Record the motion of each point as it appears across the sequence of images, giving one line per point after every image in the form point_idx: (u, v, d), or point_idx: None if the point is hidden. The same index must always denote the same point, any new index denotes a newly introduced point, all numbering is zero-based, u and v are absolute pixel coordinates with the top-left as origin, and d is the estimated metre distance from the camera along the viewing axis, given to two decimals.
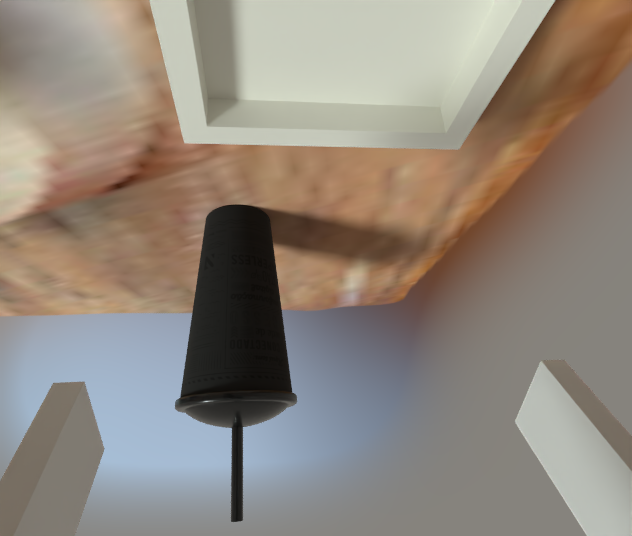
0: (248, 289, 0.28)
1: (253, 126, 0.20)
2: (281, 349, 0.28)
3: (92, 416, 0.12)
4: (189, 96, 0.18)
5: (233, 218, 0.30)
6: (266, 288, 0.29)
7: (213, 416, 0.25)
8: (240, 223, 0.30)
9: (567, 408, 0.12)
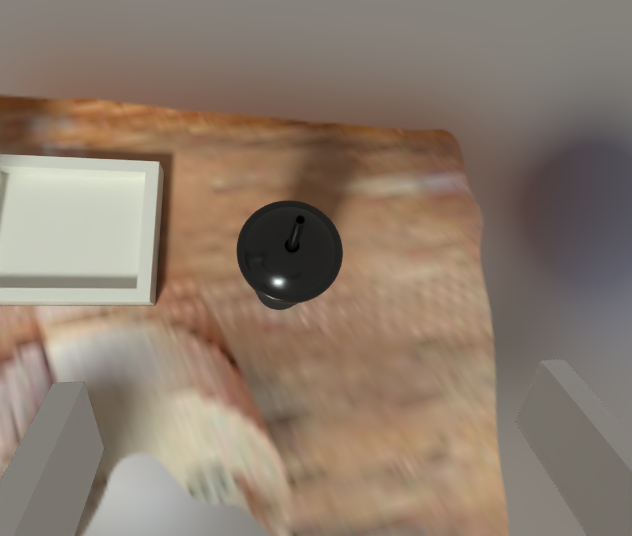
0: None
1: (139, 266, 0.40)
2: None
3: (92, 416, 0.12)
4: (115, 294, 0.39)
5: None
6: None
7: (261, 264, 0.30)
8: None
9: (567, 408, 0.12)
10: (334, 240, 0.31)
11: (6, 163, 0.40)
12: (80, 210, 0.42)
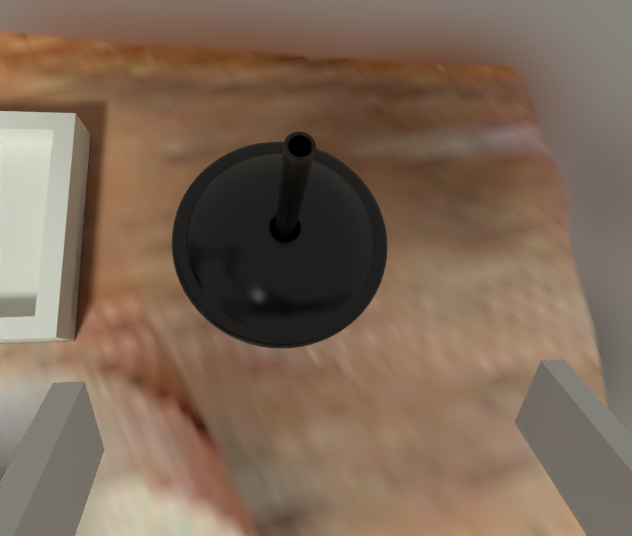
0: None
1: None
2: None
3: (92, 416, 0.12)
4: None
5: None
6: None
7: (221, 270, 0.14)
8: None
9: (567, 408, 0.12)
10: (369, 217, 0.16)
11: None
12: None
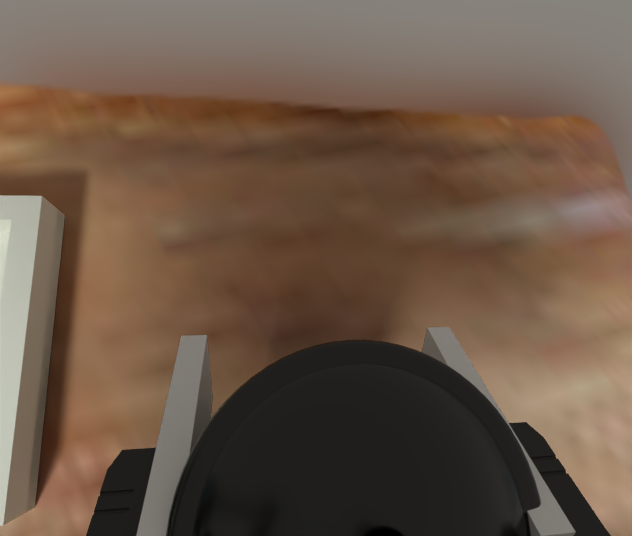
0: None
1: None
2: None
3: (208, 367, 0.14)
4: None
5: None
6: None
7: None
8: None
9: None
10: (516, 484, 0.09)
11: None
12: None
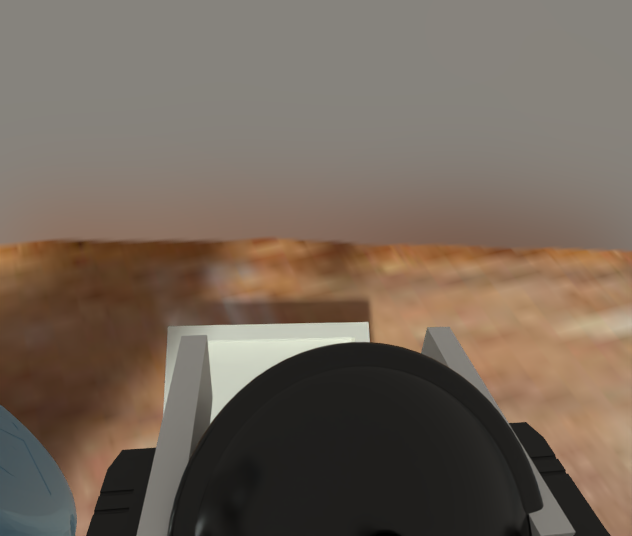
0: None
1: None
2: None
3: (208, 367, 0.14)
4: None
5: None
6: None
7: None
8: None
9: None
10: (518, 488, 0.09)
11: None
12: None
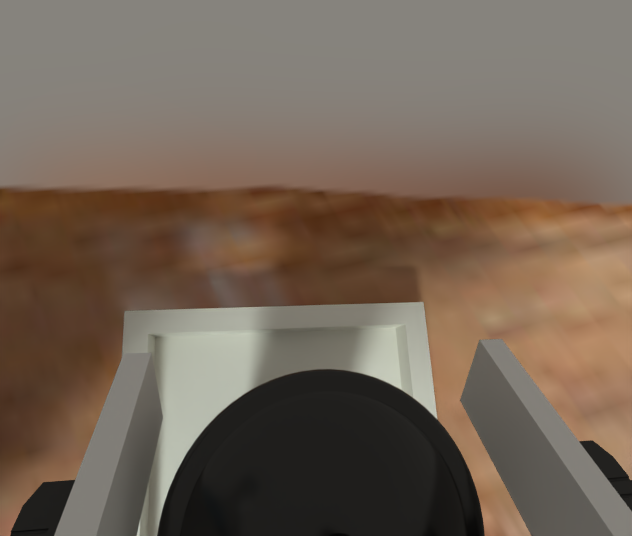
0: None
1: None
2: None
3: (155, 386, 0.13)
4: None
5: None
6: None
7: None
8: None
9: (499, 383, 0.12)
10: (458, 494, 0.10)
11: (170, 327, 0.22)
12: None
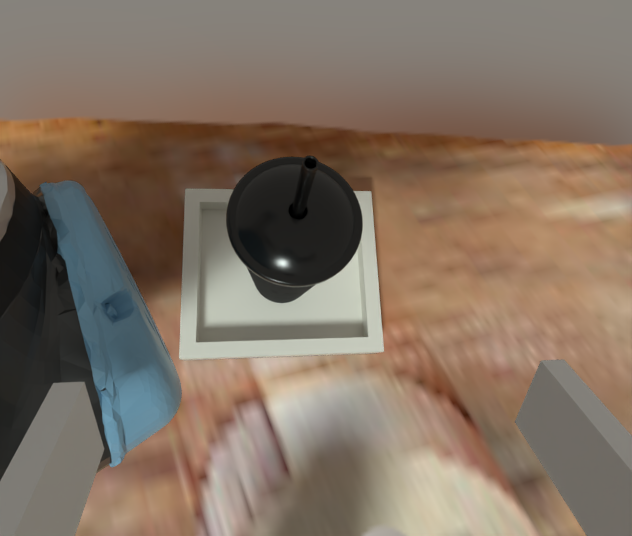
0: None
1: (366, 311, 0.36)
2: None
3: (92, 416, 0.12)
4: (346, 344, 0.35)
5: None
6: None
7: (258, 237, 0.23)
8: None
9: (567, 408, 0.12)
10: (351, 205, 0.24)
11: (212, 199, 0.36)
12: None
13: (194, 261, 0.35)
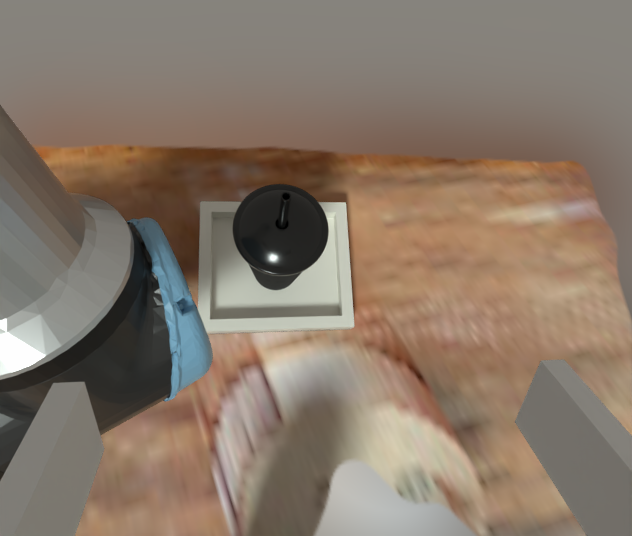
0: None
1: (341, 296, 0.46)
2: None
3: (92, 416, 0.12)
4: (325, 321, 0.45)
5: None
6: None
7: (255, 241, 0.33)
8: None
9: (567, 408, 0.12)
10: (320, 218, 0.35)
11: (221, 209, 0.47)
12: None
13: (208, 257, 0.45)
